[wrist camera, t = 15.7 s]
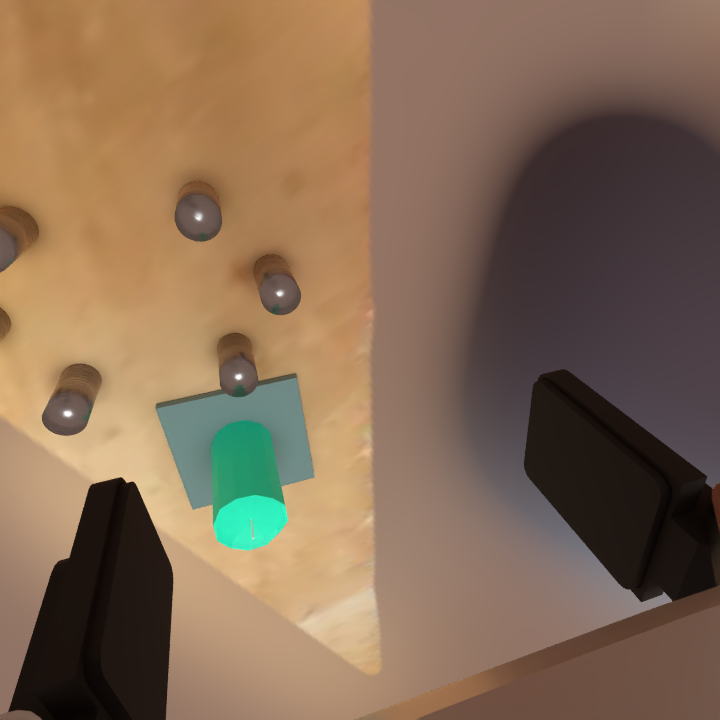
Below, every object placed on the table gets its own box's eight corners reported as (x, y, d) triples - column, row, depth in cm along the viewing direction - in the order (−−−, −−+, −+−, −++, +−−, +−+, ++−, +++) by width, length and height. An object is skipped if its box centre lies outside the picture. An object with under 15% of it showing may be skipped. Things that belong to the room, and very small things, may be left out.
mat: (156, 404, 44) (155, 408, 44) (295, 373, 47) (296, 377, 46) (192, 504, 51) (192, 509, 50) (313, 472, 53) (314, 477, 53)
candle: (227, 477, 50) (234, 575, 39) (199, 436, 46) (199, 532, 36) (281, 452, 50) (302, 543, 40) (257, 410, 47) (273, 498, 37)
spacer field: (-93, 219, 33) (-147, 242, 28) (272, 171, 38) (283, 183, 33) (12, 409, 41) (-14, 454, 36) (301, 349, 46) (314, 380, 41)
